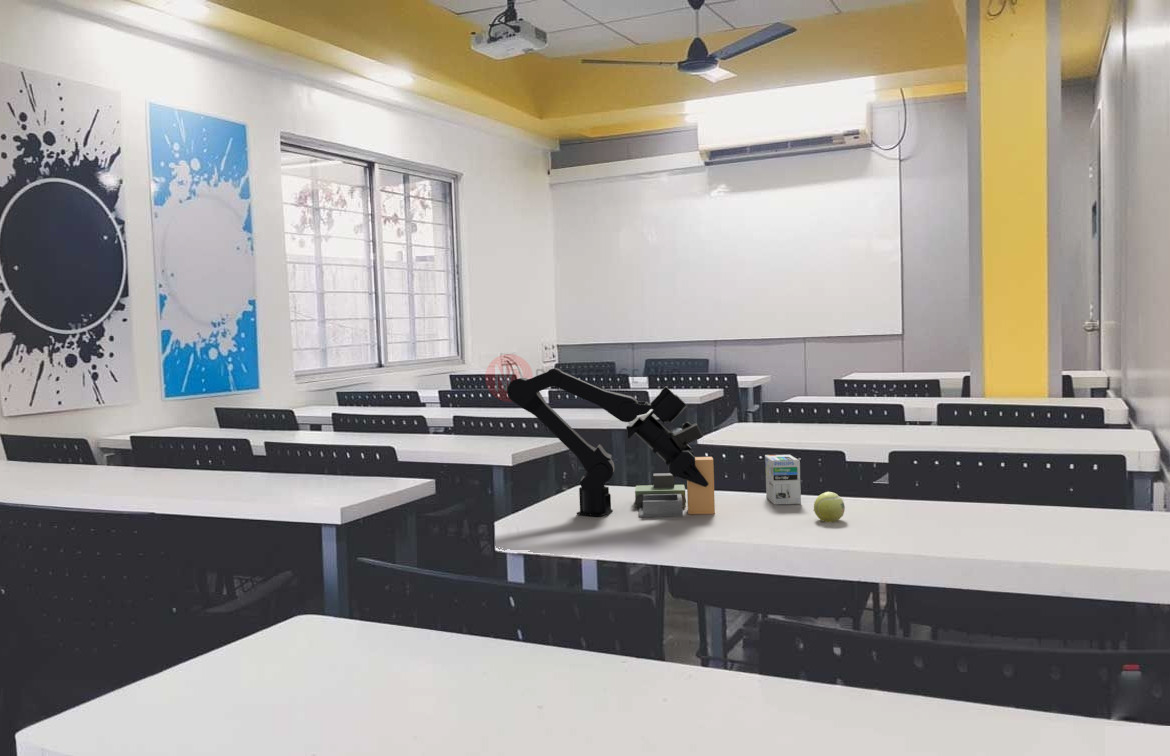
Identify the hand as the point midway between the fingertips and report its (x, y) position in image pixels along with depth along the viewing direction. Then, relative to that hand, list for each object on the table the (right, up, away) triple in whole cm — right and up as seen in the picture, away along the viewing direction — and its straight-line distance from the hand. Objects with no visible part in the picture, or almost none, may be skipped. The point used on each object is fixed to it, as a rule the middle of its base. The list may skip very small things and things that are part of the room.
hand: (706, 483), depth 210 cm
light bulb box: (+20, -6, +11) cm, 24 cm away
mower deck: (-10, -6, +12) cm, 16 cm away
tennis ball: (+25, -7, -14) cm, 29 cm away
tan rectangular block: (-1, -7, 0) cm, 7 cm away
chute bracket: (-11, -7, +1) cm, 13 cm away
